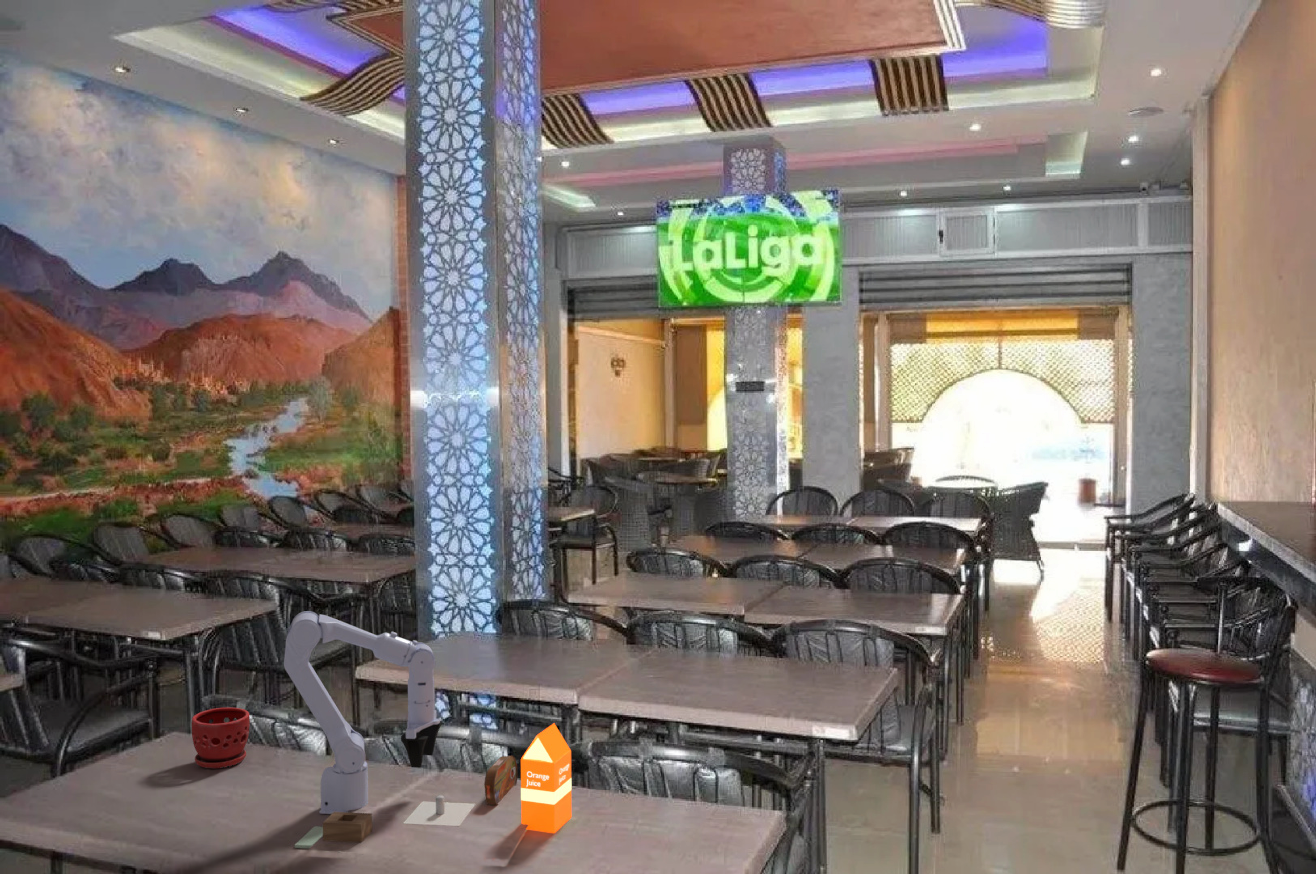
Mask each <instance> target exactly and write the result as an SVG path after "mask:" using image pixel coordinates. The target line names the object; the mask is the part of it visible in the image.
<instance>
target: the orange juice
mask: <svg viewBox="0 0 1316 874" xmlns="http://www.w3.org/2000/svg"><path fill="white" fill-rule="evenodd" d="M572 780H573V779H572V750H571V748H570V747H569V745H568V744H567V742H566V740H565V738H564V736H563V735H562V734H561V732H560V730H559V729H558V727H557V725H556V723H555V722H554V723H552V724H551V725H549V726H548V727H546V728H545V729H544V730H542V731H541V732H539V733H537V735H535V737H534V739H533V740H532V742H531V743H530V745H529V746H528V748H527V749H526V751H525V752H524V754H523V755H522V757H521V759H520V803H521V805H520V806H521V807H520V808H521V809H520V811H521V816H520V817H521V818H520V820H521V821H520V823H521V824H522V825H527V826H526V828H525V830H527V831H528V830H529V831H534V832H541V833H548V834H556V833H557V832H558V831H559V830H560V829H561V828H562V827H564V825H566V823H568V821H570V820H571V819H572V817H573V816H572V812H573V811H572V787H573V786H572Z"/></svg>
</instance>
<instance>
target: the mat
mask: <svg viewBox="0 0 1316 874" xmlns="http://www.w3.org/2000/svg"><path fill="white" fill-rule="evenodd" d="M321 838H323V826H313V827H312V828H311V829H310V830H309V831H308V832H307V833H306V834H304V835H303V837H302V838H300V839H299V840H298V841H297V842H296V843H295V844H294V848H295V849H311V847H313V846H314V845H315V844H316V843H317V842H318V841H319V840H320V839H321Z"/></svg>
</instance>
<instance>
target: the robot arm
mask: <svg viewBox="0 0 1316 874" xmlns="http://www.w3.org/2000/svg"><path fill="white" fill-rule="evenodd" d="M321 639H322V644H328V643H329V642H332V641H335V640H338V641H341V642H344V643H348V644H351V645H354V646H358V647H361V648H364V649H368V650H371V651H372V653H373V655H374V658H375V659H379V660H382V661H384V662H386V663H387V662H388V663H390V664H392V665H397V666H399V667H402V668H404V667H406V668H407V667H408V679H407V711H408V712H407V717H408V719H407V722H406V723H407V728H406V729H405V733H403V734H401V736H400V741H401V743H402V744H403V746H404V748H405V750H406V754H407V756H408V761H409V764H410V765H409V766H410V767H411V768H421V767H422V765H423V760H424V759H423V758H424V756H433V755H434V752H435V751H434V750H435V745H436V740H437V736H438V734H439V732H440V731H439V730H440V728H441V727H442V724H443V723H442V721H441V719H440V718H437V716H438V715H437V712H438V711H437V709H436V705H435V704H436V703H435V697H436V696H435V678H434V676H435V675H434V672H435V671H434V669H435V666H436V664H437V663H436V662H437V661H436V658H435V655H434V652H433V650H432V648H431V647H430V646H429V645H428V644H426V643H424V642H423V641H420V642H419V641H418V640H416V639H415V640H414V639H413V640H412V641H411V640H409V639H406V638H402V637H400V636H398V633H397V632H394V631H391V632H390V633H389V632H383V633H380V634H374V633H371V632H369V631H367V630H364V629H362V628H359V627H357V626H354V625H352V624H349V623H347V622H344V621H342V620H338V619H336V618H333V617H331V616H328V615H326V614H320V613H319V615H318V614H317V613H316V612H314V611H311V610H307V611H301V612H299V613H298V614H296V615H295V616H294V618H293V619H292V622H291V624H290V626H289V628H288V631H287V636H286V639H285V649H284V650H285V651H284V658H283V659H284V660H283V667H284V669H285V672H286V673H287V674H288V676H289V678H290V679H291V681H292V683H293V685H294V686H295V688H296V689H297V690H298V692H299V694H300V696H301V697H302V699H303V700H304V702H305V703H306V706H307V707H308V708H309V710H310V712H311V713H312V715H313V716H314V718H315V720H316V721H317V723H318V724H319V726H320V727H321V729H322V730H323V732H324V735H325V736H326V738H327V740H328V744H329V746H330V749H331V750H332V752H333V754H334V762H335V763H334V764H333V765H332V766H327V767H325V768H324V770H323V771H322V774H321V776H320V777H321V778H320V810H319V814H322V815H323V814H324V815H326V814H327V815H331V814H332V813H333V812H349V811H354V810H355V811H356V810H359V809H362V808H364V807H366V806H367V805H368V804H369V782H368V781H369V777H368V775H369V773H368V772H369V771H368V762H367V761H366V751H365V745H366V742H365V739H364V736H362V734H361V733H359V732H358V731H355V730H354V729H353V728H352V726H351V725H350V723H349V722H347V720H346V719H345V717H344V716H343V715H342V713H341V712H340V710H339V708H338V707H337V705H336V703H335V701H334V700H333V699H332V696H331V695H330V694H329V692H328V690H327V689H326V687H325V686H324V684H323V682H322V681H321V678H320V677H319V676H318V674H317V673H316V671H315V669H314V667H313V666H312V664H311V662H310V661H309V660H310V657H311V654H312V651H313V650H314V649H315V647H316V646H317V645H318V643H319V642H320V641H321Z"/></svg>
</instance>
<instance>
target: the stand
mask: <svg viewBox="0 0 1316 874" xmlns="http://www.w3.org/2000/svg"><path fill="white" fill-rule="evenodd" d="M475 806H476V803H471V802H470V803H467V802H466V803H464V802H445V795H436V796H435V801H423V800H422V801H421V802H420V804H419V805H418V806H417V807H416V808H415V809H414V810H413V811H412V813H411V814H410V815H409V816H408V817H407V818H406V819H405V821H404V822H402V824H403V825H404V824H405V825H421V826H423V825H426V826H445V827H446V826H447V827H449V826H450V827H460V826H461V824H462V823H463V822H464V821H465V819H466V818H467V816H468V815H469V814H470V813H471V811H472V810H473V808H474V807H475Z"/></svg>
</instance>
